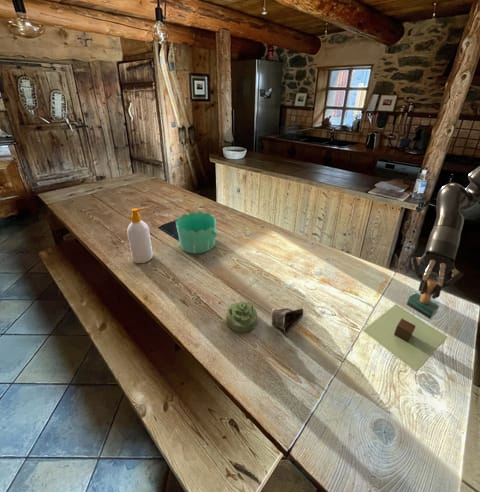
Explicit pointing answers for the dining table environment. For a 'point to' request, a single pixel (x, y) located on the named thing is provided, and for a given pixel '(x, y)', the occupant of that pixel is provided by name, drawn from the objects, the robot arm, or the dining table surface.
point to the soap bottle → (139, 238)
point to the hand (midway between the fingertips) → (427, 295)
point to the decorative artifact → (241, 316)
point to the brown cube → (404, 330)
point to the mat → (408, 352)
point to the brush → (424, 300)
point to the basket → (196, 232)
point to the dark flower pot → (286, 318)
